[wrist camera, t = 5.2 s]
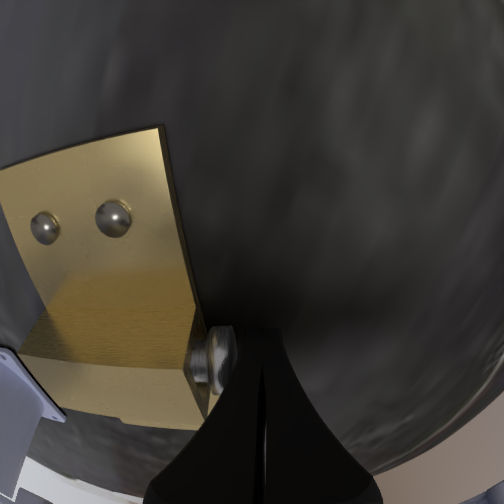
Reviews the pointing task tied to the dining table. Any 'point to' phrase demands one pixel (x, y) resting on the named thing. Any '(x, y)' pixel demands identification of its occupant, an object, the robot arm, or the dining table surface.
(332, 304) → the dining table surface
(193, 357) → the hinge pin
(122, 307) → the hinge leaves
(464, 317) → the dining table surface
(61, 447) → the dining table surface
